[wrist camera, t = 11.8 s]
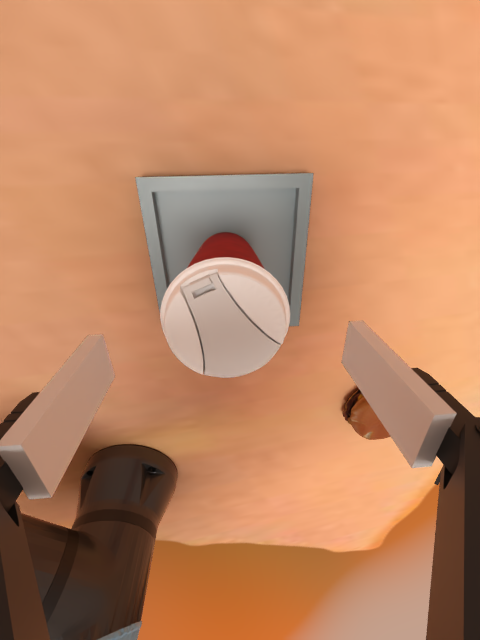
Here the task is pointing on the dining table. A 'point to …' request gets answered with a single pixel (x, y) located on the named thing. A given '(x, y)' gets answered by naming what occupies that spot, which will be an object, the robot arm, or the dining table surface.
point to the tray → (228, 223)
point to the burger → (363, 418)
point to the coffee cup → (225, 310)
